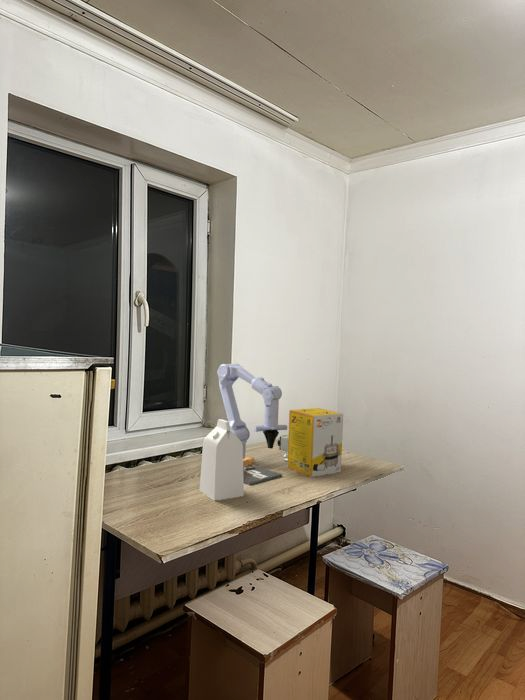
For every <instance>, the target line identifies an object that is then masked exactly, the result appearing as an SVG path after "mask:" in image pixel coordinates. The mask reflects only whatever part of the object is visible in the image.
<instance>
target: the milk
mask: <svg viewBox="0 0 525 700" xmlns="http://www.w3.org/2000/svg"><path fill="white" fill-rule="evenodd" d="M216 423H217V424H216V426H215V427H214V428H213V429H212V430H211V431H210V432H209V433H208V434H207V435H206V436H205V438H204V439H203V442H202V452H201V453H202V454H201V466H200V479H199V488H198V489H199V490H200V493H202V492H203V493H204V495H205V494H206V495H207V496H206V495H205V496H206V497H208V498H209V497H210V498H209V499H211V500H212V499H213V500H214V501H213V500H212V501H213V502H216V501H215V500H218V501H223V500H228V498H229V499H233V498H234V497H235V498H239V497H240V496H241V497H244V493H245V492H244V491H245V489H244V488H245V487H244V483H243V444H242V442H241V441H240V440H239V438H238V437H237V436H236V435H235V434H234V433H233V432H232V431H230V424H229V422H228V420H225V419H223V418H221V419H220V418H218V419H217V422H216ZM203 493H202V494H203ZM222 499H223V500H222Z"/></svg>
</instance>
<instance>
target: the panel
mask: <svg viewBox="0 0 525 700" xmlns="http://www.w3.org/2000/svg"><path fill="white" fill-rule="evenodd" d="M249 470H255V471H258V472H261V473H260V474H262V475H265V476H268V477H267V478H263V479H260V478H257V477H254V476H253V474H250V473H247V472H246V471H249ZM281 477H283V474H282V473H280V472H277V471H274V470H271V469H267V468H264V467H260V466H258V465H256V464H255V463H254V465H248V466H245V467H243V484H245V485H247V486H253V485H255V484H259V483H263V482H267V481H270V480H274V479H278V478H281ZM252 484H253V485H252Z"/></svg>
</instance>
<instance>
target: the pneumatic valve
mask: <svg viewBox="0 0 525 700" xmlns="http://www.w3.org/2000/svg"><path fill="white" fill-rule="evenodd" d="M276 443H277V446H278V449H279V451H284V452H285V453H284V455H283V458H284V461H285V462H288V435H287V434H284V435H280V436H279V438H278V439H277V442H276Z"/></svg>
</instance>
